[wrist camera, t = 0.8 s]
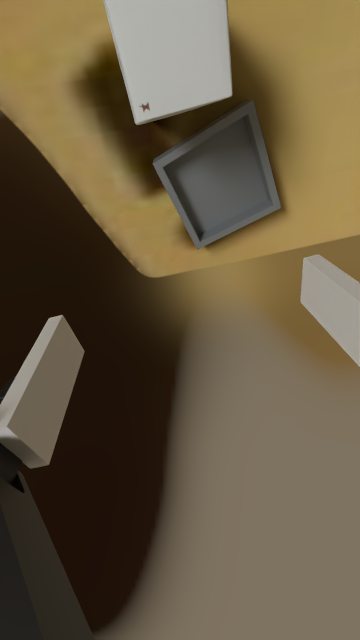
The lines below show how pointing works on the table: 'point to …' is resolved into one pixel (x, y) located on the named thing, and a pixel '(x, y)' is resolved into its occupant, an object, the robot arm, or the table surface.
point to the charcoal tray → (220, 176)
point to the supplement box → (171, 54)
